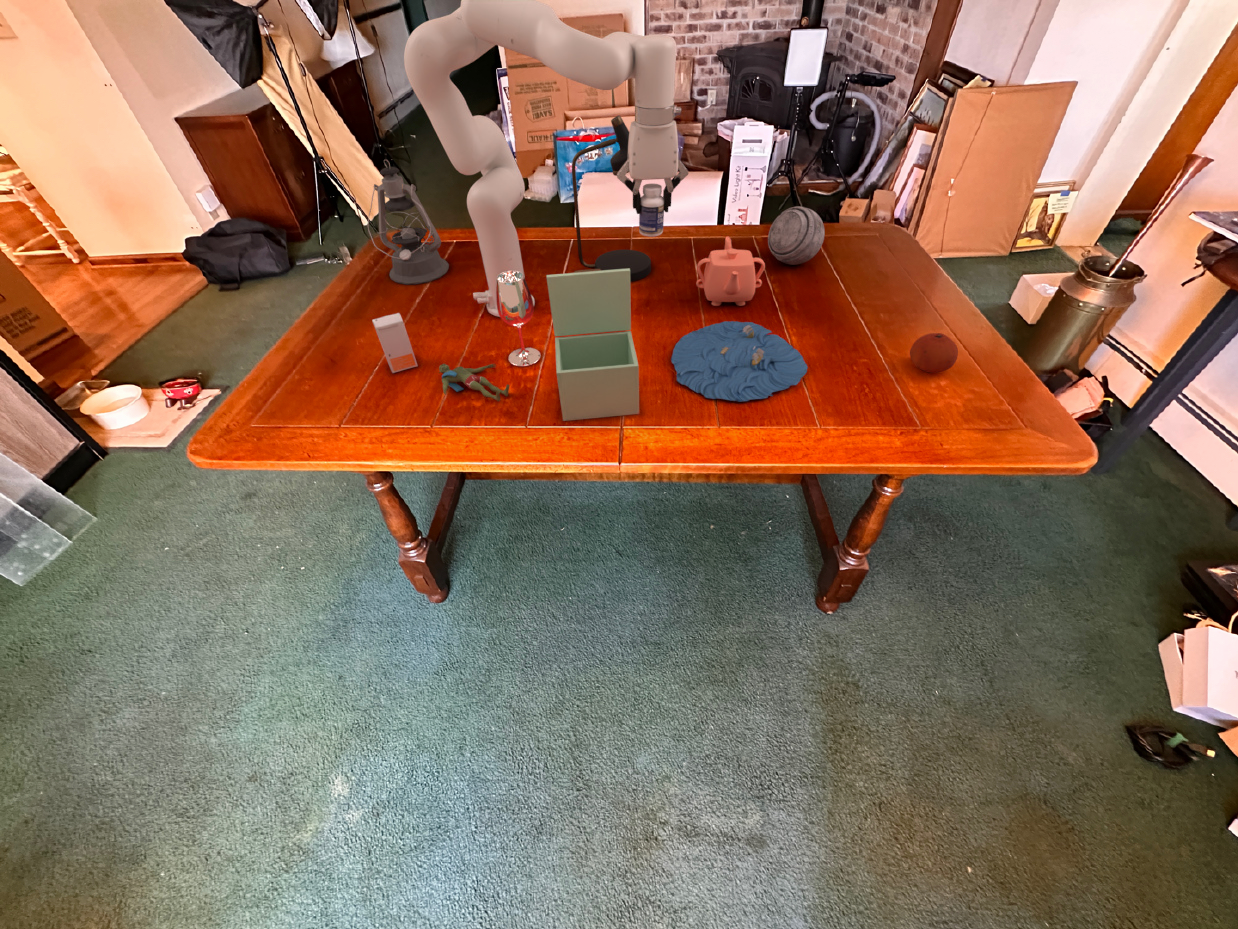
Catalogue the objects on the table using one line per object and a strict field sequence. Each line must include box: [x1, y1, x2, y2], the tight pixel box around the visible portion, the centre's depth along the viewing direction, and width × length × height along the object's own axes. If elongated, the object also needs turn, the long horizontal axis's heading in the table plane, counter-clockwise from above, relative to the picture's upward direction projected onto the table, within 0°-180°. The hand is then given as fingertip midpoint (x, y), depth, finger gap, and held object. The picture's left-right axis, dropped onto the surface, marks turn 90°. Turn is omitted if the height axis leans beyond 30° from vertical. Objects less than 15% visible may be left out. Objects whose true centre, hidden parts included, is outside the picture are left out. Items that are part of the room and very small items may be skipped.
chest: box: [554, 330, 640, 422], centre depth 114 cm, size 13×16×12 cm
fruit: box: [909, 332, 959, 374], centre depth 119 cm, size 9×9×8 cm
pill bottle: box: [638, 183, 665, 238], centre depth 121 cm, size 5×5×10 cm
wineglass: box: [496, 271, 542, 367], centre depth 123 cm, size 8×8×20 cm
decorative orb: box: [767, 205, 826, 266], centre depth 154 cm, size 15×14×15 cm
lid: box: [546, 268, 632, 337], centre depth 110 cm, size 13×16×5 cm
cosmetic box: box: [371, 312, 419, 374], centre depth 125 cm, size 6×4×12 cm
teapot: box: [695, 236, 766, 307], centre depth 142 cm, size 15×17×13 cm
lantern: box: [367, 159, 450, 286], centre depth 152 cm, size 18×20×30 cm
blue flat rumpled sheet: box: [670, 320, 809, 403], centre depth 123 cm, size 30×30×5 cm
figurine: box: [438, 363, 510, 402], centre depth 121 cm, size 16×4×18 cm
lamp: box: [571, 114, 652, 283], centre depth 147 cm, size 16×22×38 cm
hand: (651, 209), depth 121 cm, fingers closed on pill bottle, 5 cm apart
